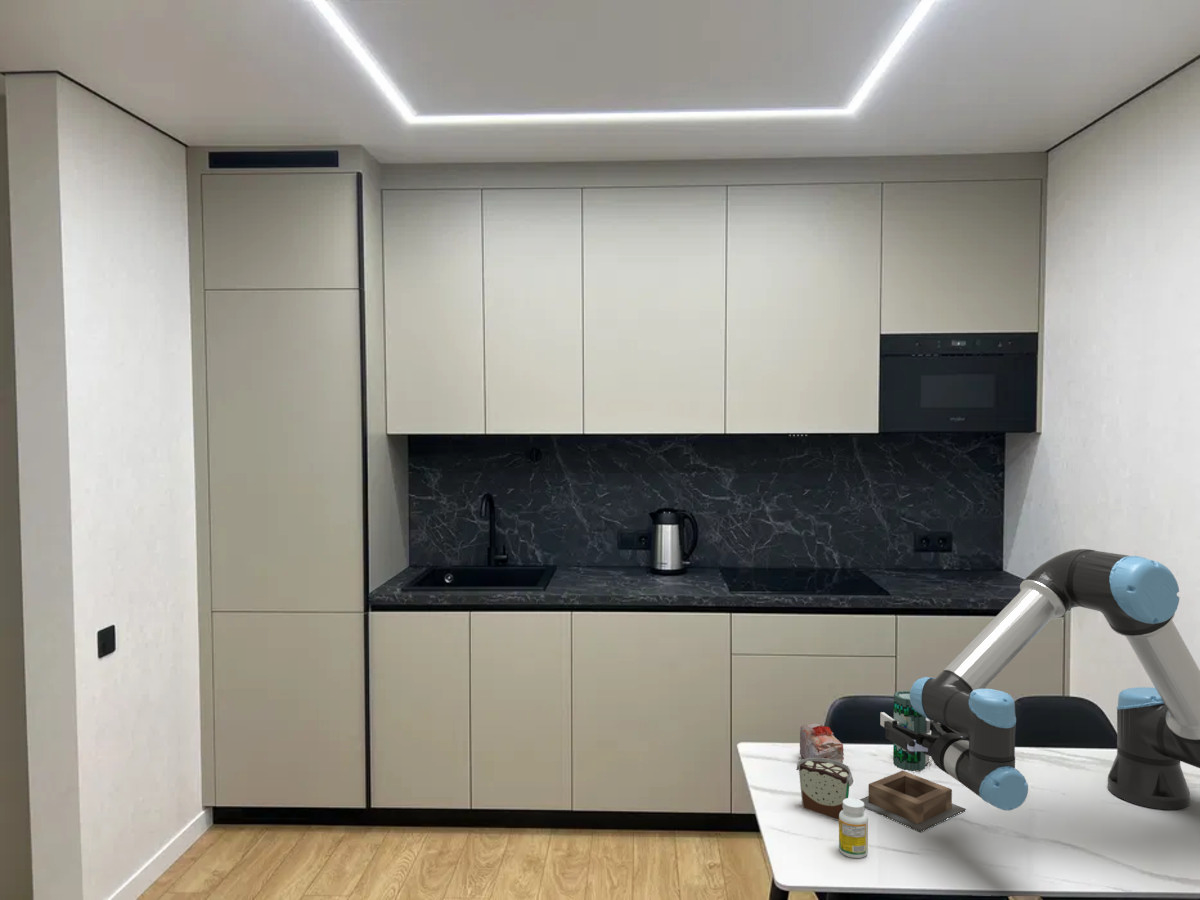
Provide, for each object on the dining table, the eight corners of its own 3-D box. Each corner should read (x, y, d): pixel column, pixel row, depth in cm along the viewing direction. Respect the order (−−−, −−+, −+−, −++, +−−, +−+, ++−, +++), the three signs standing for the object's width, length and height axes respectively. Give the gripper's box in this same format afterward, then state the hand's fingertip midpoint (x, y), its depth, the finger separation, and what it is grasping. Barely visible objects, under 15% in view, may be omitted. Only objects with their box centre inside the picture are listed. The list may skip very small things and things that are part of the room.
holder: (965, 810, 179) (966, 790, 179) (920, 832, 170) (920, 810, 170) (900, 784, 192) (900, 765, 192) (854, 803, 183) (854, 783, 183)
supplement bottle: (860, 862, 159) (860, 811, 158) (833, 852, 162) (833, 803, 162) (872, 850, 163) (872, 801, 162) (846, 842, 166) (846, 793, 166)
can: (888, 764, 181) (888, 694, 180) (904, 757, 185) (905, 689, 184) (914, 773, 176) (914, 702, 176) (930, 766, 180) (930, 696, 179)
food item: (848, 778, 196) (848, 735, 196) (815, 780, 195) (815, 738, 195) (825, 755, 209) (825, 715, 209) (794, 757, 208) (794, 717, 208)
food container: (863, 814, 178) (863, 767, 177) (850, 825, 173) (850, 776, 173) (810, 797, 186) (810, 752, 186) (796, 806, 181) (796, 760, 181)
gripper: (913, 781, 161) (855, 737, 184) (1004, 774, 164) (937, 731, 187) (913, 742, 161) (855, 703, 183) (1005, 735, 164) (937, 697, 187)
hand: (897, 717), depth 185 cm, fingers closed on can, 6 cm apart
